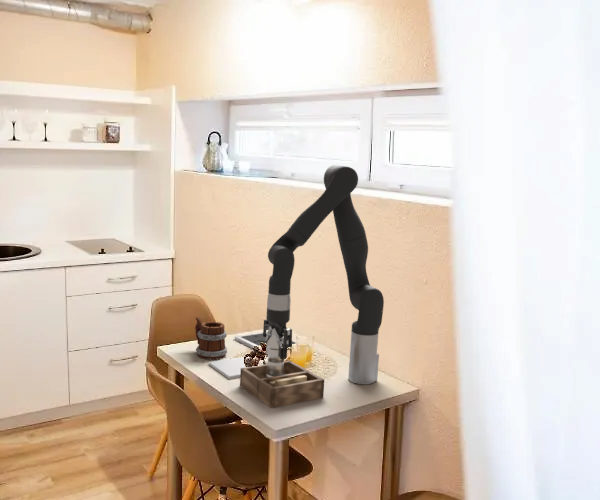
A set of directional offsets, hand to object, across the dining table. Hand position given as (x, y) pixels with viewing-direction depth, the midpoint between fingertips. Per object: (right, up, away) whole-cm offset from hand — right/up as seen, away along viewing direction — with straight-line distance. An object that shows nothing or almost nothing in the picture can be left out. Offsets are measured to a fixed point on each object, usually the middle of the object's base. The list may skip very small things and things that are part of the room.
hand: (276, 355), depth 211 cm
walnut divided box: (+2, -12, -1) cm, 12 cm away
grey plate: (-14, -8, +18) cm, 24 cm away
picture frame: (-6, -4, +49) cm, 49 cm away
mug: (-27, -5, +32) cm, 42 cm away
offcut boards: (+5, -13, -6) cm, 15 cm away
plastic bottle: (-1, -11, +2) cm, 11 cm away
